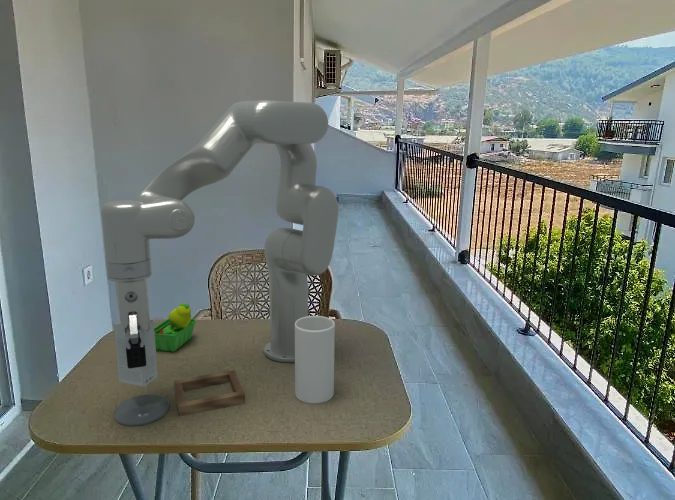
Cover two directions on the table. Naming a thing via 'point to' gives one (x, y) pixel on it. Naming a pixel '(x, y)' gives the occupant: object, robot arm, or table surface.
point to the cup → (314, 359)
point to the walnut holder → (209, 402)
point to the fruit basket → (175, 329)
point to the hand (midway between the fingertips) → (136, 357)
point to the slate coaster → (141, 410)
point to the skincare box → (139, 374)
